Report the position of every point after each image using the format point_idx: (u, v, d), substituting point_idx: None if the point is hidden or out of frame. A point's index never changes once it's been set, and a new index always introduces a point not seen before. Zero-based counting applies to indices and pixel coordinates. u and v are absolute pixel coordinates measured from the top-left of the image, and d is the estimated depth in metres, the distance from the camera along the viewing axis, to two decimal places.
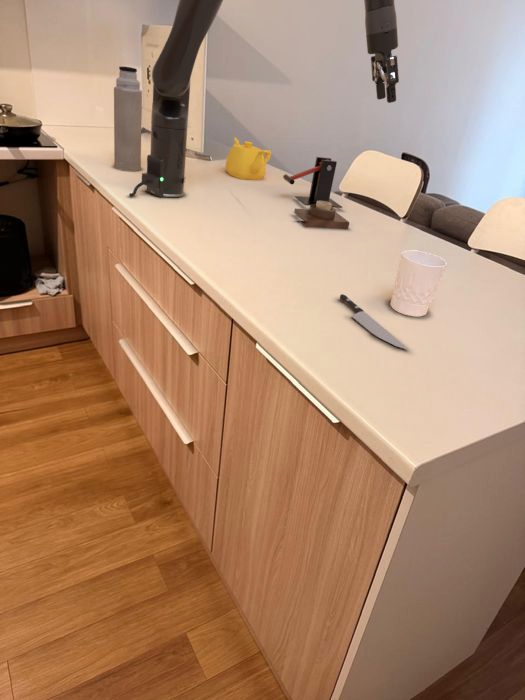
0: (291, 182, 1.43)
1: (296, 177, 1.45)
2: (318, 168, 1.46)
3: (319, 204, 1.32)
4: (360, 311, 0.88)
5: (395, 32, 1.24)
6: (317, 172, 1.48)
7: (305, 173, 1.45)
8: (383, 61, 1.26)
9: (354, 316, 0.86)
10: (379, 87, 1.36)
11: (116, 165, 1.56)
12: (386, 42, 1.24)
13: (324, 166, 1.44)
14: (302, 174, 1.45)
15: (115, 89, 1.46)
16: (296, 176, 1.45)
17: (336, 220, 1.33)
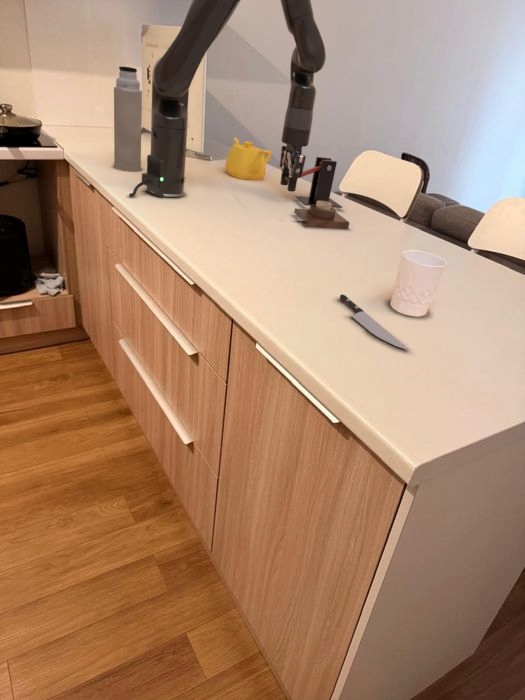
0: None
1: None
2: (318, 168, 1.46)
3: (319, 204, 1.32)
4: (360, 311, 0.88)
5: (308, 133, 1.38)
6: (317, 172, 1.48)
7: (305, 173, 1.45)
8: (293, 153, 1.38)
9: (354, 316, 0.86)
10: None
11: (116, 165, 1.56)
12: (299, 139, 1.37)
13: (324, 166, 1.44)
14: (302, 174, 1.45)
15: (115, 89, 1.46)
16: None
17: (336, 220, 1.33)
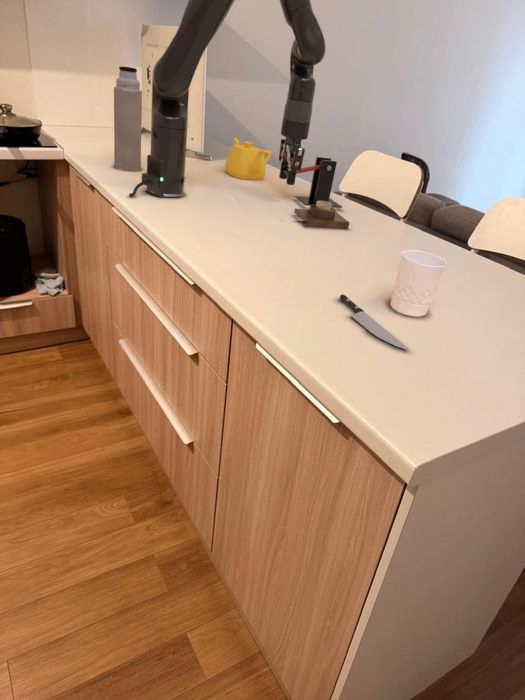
0: None
1: None
2: (318, 167, 1.46)
3: (319, 204, 1.32)
4: (360, 311, 0.88)
5: (308, 126, 1.37)
6: (317, 172, 1.48)
7: (305, 169, 1.45)
8: (293, 146, 1.37)
9: (354, 316, 0.86)
10: (283, 168, 1.47)
11: (116, 165, 1.56)
12: (299, 132, 1.36)
13: (324, 166, 1.44)
14: (302, 170, 1.45)
15: (115, 89, 1.46)
16: None
17: (336, 220, 1.33)
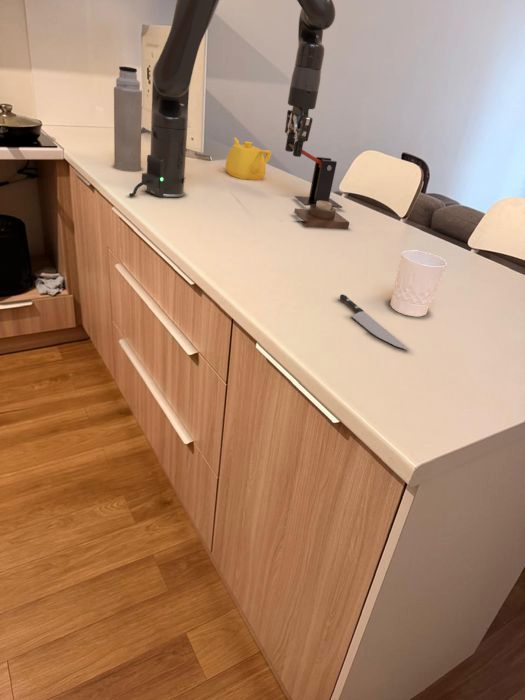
0: None
1: None
2: (319, 161, 1.45)
3: (319, 204, 1.32)
4: (360, 311, 0.88)
5: (316, 95, 1.33)
6: (317, 172, 1.48)
7: (308, 155, 1.43)
8: (300, 115, 1.34)
9: (354, 316, 0.86)
10: (289, 140, 1.43)
11: (116, 165, 1.56)
12: (306, 100, 1.32)
13: (324, 166, 1.44)
14: (306, 153, 1.42)
15: (115, 89, 1.46)
16: None
17: (336, 220, 1.33)
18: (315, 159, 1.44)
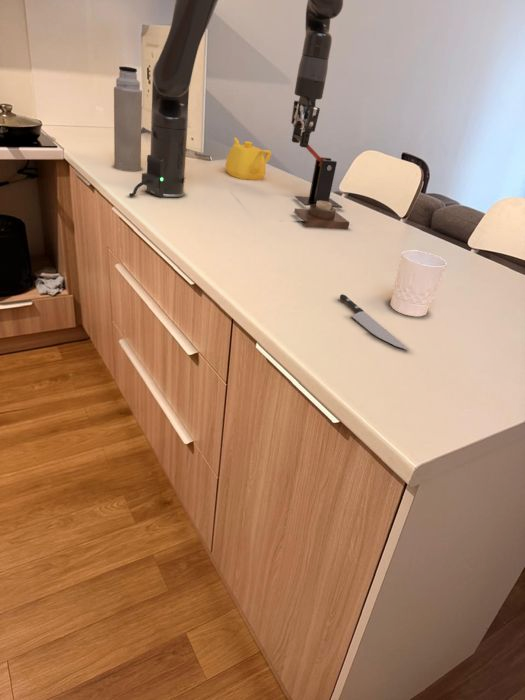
0: None
1: None
2: (321, 160, 1.45)
3: (319, 204, 1.32)
4: (360, 311, 0.88)
5: (323, 85, 1.32)
6: (317, 172, 1.48)
7: (312, 150, 1.43)
8: (307, 105, 1.33)
9: (354, 316, 0.86)
10: (296, 131, 1.42)
11: (116, 165, 1.56)
12: (313, 90, 1.31)
13: (324, 166, 1.44)
14: (309, 148, 1.42)
15: (115, 89, 1.46)
16: None
17: (336, 220, 1.33)
18: (317, 156, 1.44)
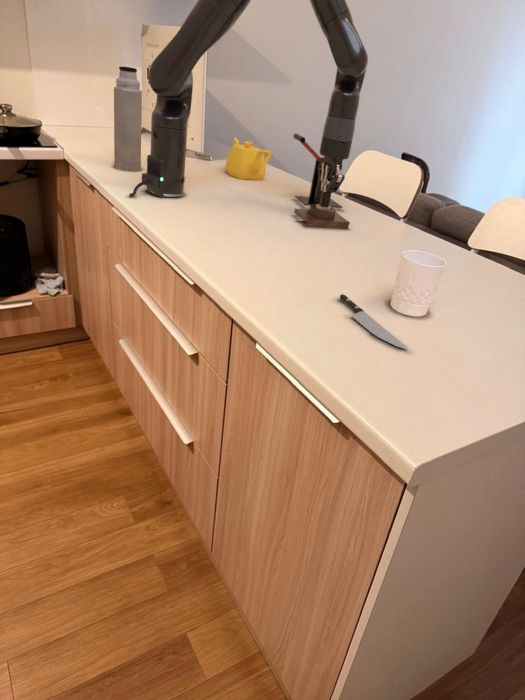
0: (302, 139, 1.38)
1: (304, 144, 1.41)
2: (321, 160, 1.45)
3: (318, 207, 1.33)
4: (360, 311, 0.88)
5: (350, 144, 1.25)
6: (317, 172, 1.48)
7: (311, 150, 1.43)
8: (333, 167, 1.25)
9: (354, 316, 0.86)
10: None
11: (116, 165, 1.56)
12: (340, 151, 1.24)
13: None
14: (309, 148, 1.42)
15: (115, 89, 1.46)
16: (305, 143, 1.41)
17: (336, 220, 1.33)
18: (317, 156, 1.44)
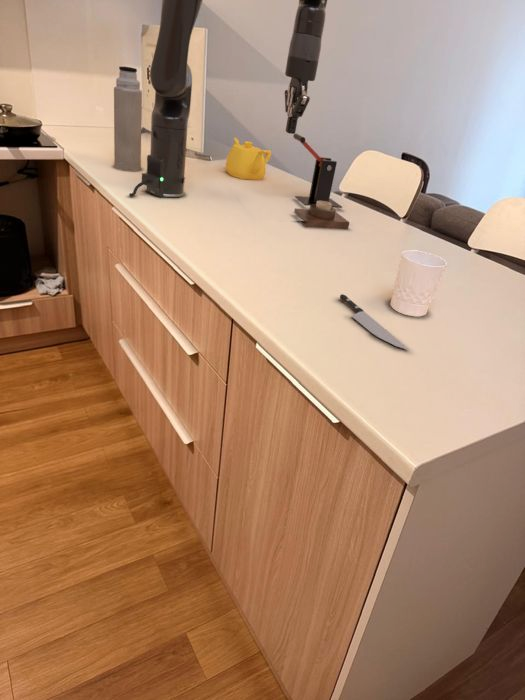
0: (302, 139, 1.38)
1: (304, 144, 1.41)
2: (321, 160, 1.45)
3: (319, 204, 1.32)
4: (360, 311, 0.88)
5: (316, 65, 1.22)
6: (317, 172, 1.48)
7: (311, 150, 1.43)
8: (298, 87, 1.22)
9: (354, 316, 0.86)
10: None
11: (116, 165, 1.56)
12: (305, 71, 1.21)
13: (324, 166, 1.44)
14: (309, 148, 1.42)
15: (115, 89, 1.46)
16: (305, 143, 1.41)
17: (336, 220, 1.33)
18: (317, 156, 1.44)
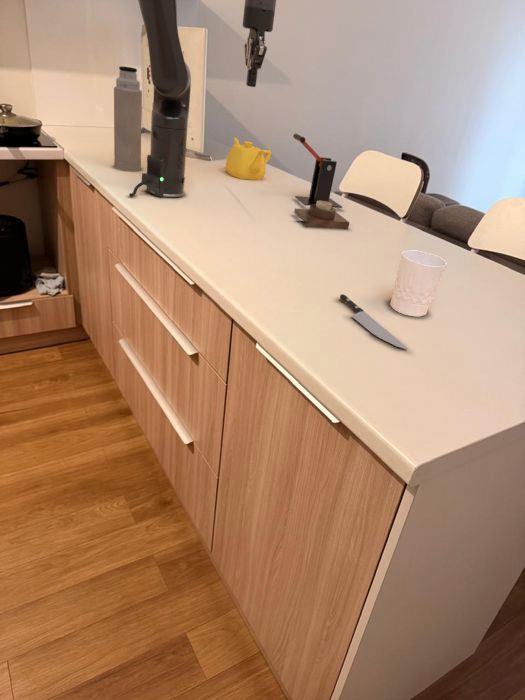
0: (302, 139, 1.38)
1: (304, 144, 1.41)
2: (321, 160, 1.45)
3: (319, 204, 1.32)
4: (360, 311, 0.88)
5: (272, 14, 1.22)
6: (317, 172, 1.48)
7: (311, 150, 1.43)
8: (255, 38, 1.23)
9: (354, 316, 0.86)
10: None
11: (116, 165, 1.56)
12: (262, 20, 1.22)
13: (324, 166, 1.44)
14: (309, 148, 1.42)
15: (115, 89, 1.46)
16: (305, 143, 1.41)
17: (336, 220, 1.33)
18: (317, 156, 1.44)
